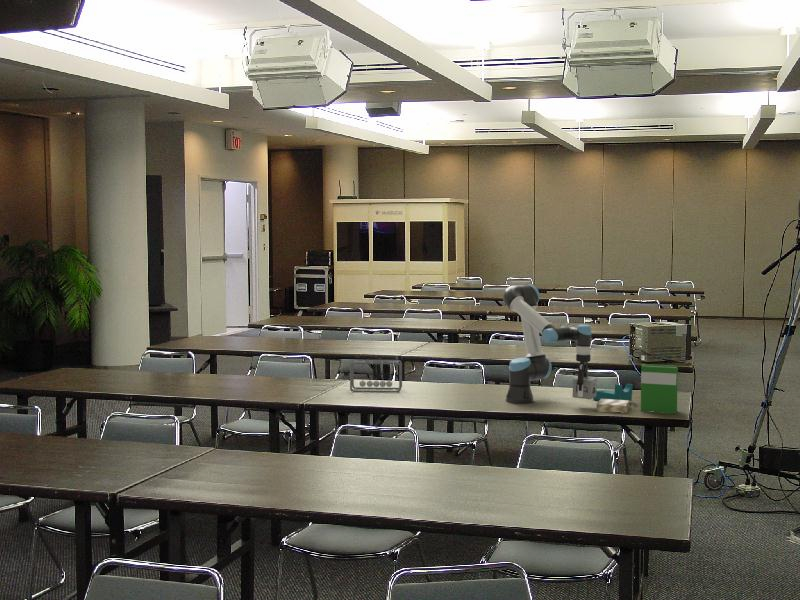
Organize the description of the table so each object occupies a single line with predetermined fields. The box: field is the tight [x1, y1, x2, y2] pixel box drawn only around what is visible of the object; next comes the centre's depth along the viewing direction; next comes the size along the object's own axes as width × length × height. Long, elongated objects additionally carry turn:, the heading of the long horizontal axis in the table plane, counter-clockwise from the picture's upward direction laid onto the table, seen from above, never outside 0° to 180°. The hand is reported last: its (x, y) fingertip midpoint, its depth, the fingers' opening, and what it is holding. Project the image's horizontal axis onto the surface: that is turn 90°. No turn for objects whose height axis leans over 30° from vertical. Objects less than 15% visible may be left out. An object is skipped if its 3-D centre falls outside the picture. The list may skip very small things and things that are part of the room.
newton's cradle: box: [349, 359, 403, 393], centre depth 550 cm, size 30×10×18 cm, turn 86°
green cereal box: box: [640, 363, 679, 414], centre depth 488 cm, size 18×7×24 cm, turn 68°
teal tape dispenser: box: [592, 383, 634, 402], centre depth 516 cm, size 18×11×10 cm, turn 40°
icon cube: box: [572, 376, 598, 400], centre depth 498 cm, size 10×10×10 cm
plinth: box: [595, 399, 631, 414], centre depth 493 cm, size 15×15×4 cm
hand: (582, 394), depth 499 cm, fingers closed on icon cube, 10 cm apart
